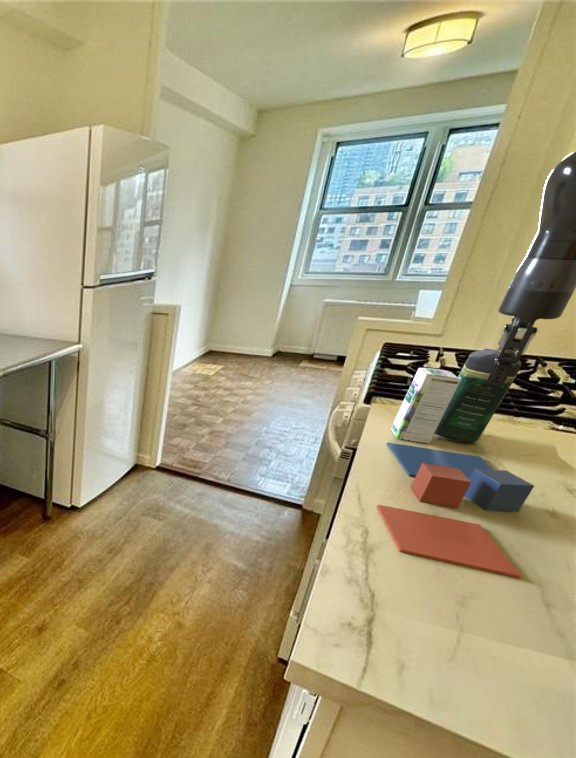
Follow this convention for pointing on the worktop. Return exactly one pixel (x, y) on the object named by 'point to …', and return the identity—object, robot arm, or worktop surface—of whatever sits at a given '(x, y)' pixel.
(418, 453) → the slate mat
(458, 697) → the worktop surface
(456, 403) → the coffee jar
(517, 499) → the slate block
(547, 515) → the worktop surface
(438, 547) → the terracotta mat
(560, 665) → the worktop surface
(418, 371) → the syrup box
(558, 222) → the robot arm
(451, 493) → the terracotta block
